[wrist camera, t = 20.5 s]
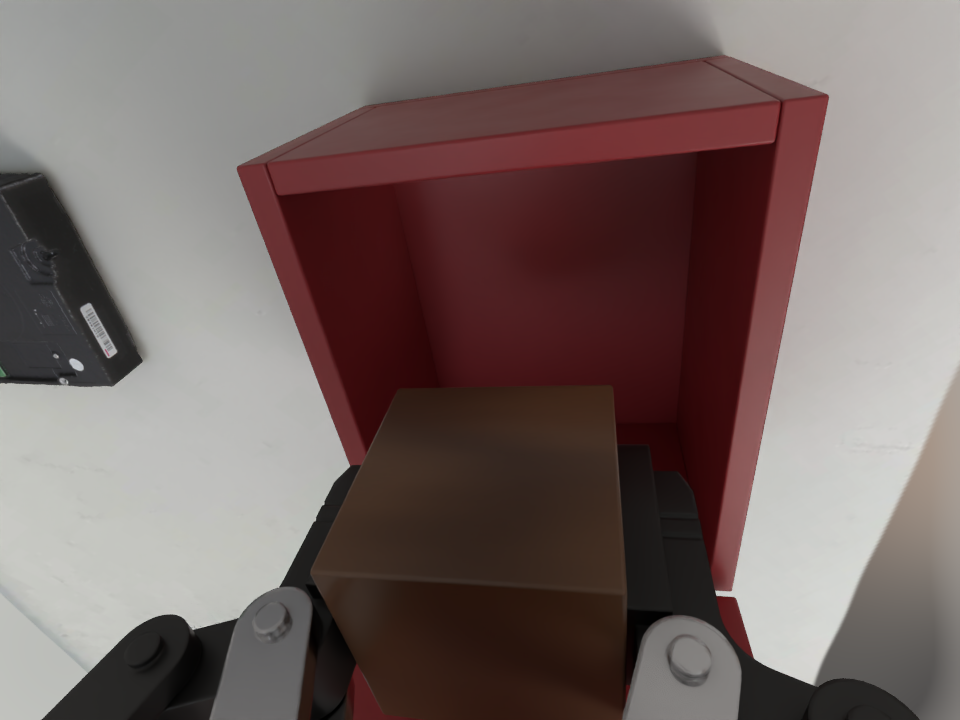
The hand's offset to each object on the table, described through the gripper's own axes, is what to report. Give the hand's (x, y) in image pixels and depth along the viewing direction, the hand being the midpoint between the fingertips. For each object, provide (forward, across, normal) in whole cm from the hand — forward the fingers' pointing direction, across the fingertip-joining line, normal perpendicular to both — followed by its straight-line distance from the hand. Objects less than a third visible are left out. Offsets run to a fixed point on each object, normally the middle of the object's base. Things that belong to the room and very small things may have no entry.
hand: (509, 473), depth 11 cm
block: (0, 0, 0) cm, 0 cm away
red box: (+12, 0, +2) cm, 12 cm away
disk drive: (+13, +29, -1) cm, 32 cm away
